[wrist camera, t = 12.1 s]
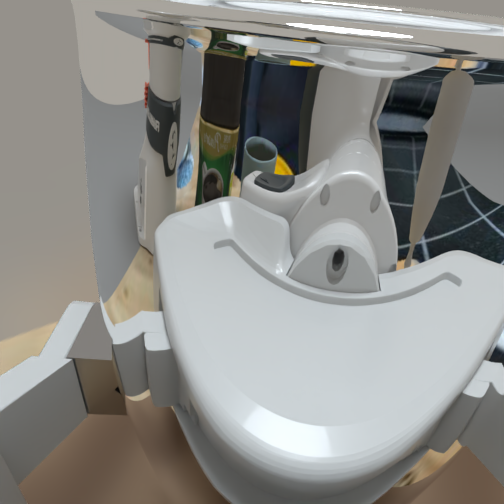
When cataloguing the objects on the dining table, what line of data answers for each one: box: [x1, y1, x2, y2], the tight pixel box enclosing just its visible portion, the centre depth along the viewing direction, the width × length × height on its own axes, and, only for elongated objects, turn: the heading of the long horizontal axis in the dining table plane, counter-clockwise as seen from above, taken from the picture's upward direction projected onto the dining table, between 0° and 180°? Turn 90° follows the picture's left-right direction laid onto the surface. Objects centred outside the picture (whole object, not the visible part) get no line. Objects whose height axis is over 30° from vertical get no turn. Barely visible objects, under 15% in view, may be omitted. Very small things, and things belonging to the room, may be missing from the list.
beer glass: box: [71, 0, 504, 504], centre depth 9 cm, size 7×7×15 cm
